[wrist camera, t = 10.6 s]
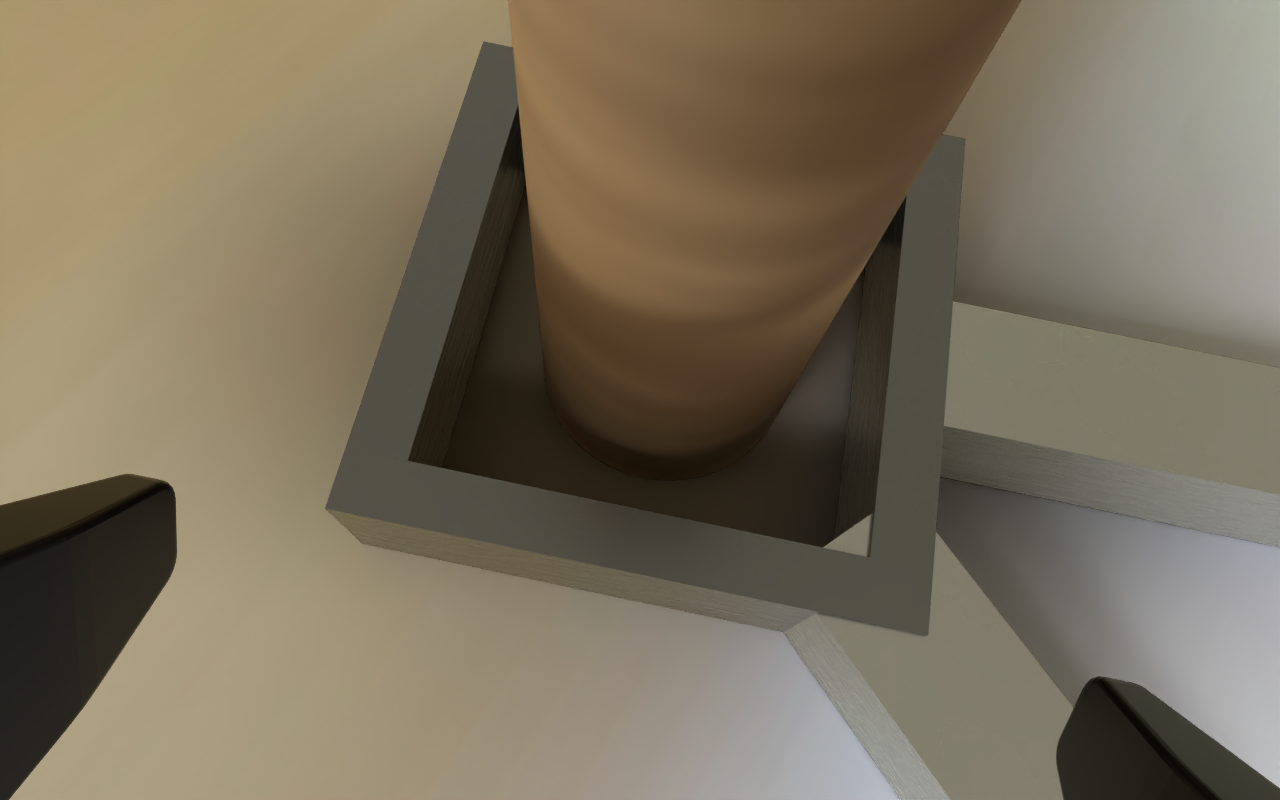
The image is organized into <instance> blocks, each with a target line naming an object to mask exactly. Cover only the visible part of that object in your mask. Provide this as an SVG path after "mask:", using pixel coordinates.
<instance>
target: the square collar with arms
mask: <svg viewBox="0 0 1280 800" xmlns="http://www.w3.org/2000/svg"><path fill="white" fill-rule="evenodd" d="M964 146H965V139H963V138H958V137H953V136H948V135H943V134H942V136H941V138H940V139H939V141H938V143H937V144H936V146H935V148H934V149H933V151H932V153H931V154H930V156H929V158H928V160H927V161H926V163H925V165H924V166H923V168H922V170H921V171H920V173H919V175H918V177H917V178H916V180H915V182H914V183H913V185H912V187H911V188H910V190H909V192H908V194H907V195H906V197H905V199H904V200H903V202H902V204H901V205H900V207H899V209H898V210H897V212H896V214H895V216H894V217H893V219H892V221H891V222H890V224H889V226H888V227H887V229H886V231H885V233H884V234H883V236H882V238H881V239H880V241H879V243H878V244H877V246H876V248H875V250H874V251H873V253H872V255H871V256H870V258H869V260H868V261H867V263H866V270H865V279H864V288H863V296H862V305H861V313H860V322H859V330H858V339H857V347H856V356H855V364H854V373H853V381H852V390H851V399H850V407H849V416H848V424H847V433H846V441H845V450H844V458H843V467H842V475H841V484H840V492H839V501H838V510H837V518H836V527H835V535H834V540H833V541H831V542H830V543H829V544H827V545H826V546H824V547H818V546H813V545H809V544H804V543H799V542H794V541H789V540H785V539H780V538H775V537H770V536H765V535H761V534H756V533H751V532H746V531H741V530H737V529H732V528H727V527H722V526H718V525H713V524H708V523H703V522H698V521H694V520H689V519H684V518H679V517H674V516H670V515H665V514H660V513H655V512H650V511H646V510H641V509H636V508H631V507H627V506H622V505H617V504H612V503H607V502H603V501H598V500H593V499H588V498H583V497H579V496H574V495H569V494H564V493H559V492H555V491H550V490H545V489H540V488H536V487H531V486H526V485H521V484H516V483H512V482H507V481H502V480H497V479H492V478H488V477H483V476H478V475H473V474H468V473H464V472H459V471H454V470H449V469H445V468H442V467H443V463H444V460H445V457H446V453H447V450H448V446H449V443H450V440H451V436H452V433H453V429H454V426H455V423H456V419H457V416H458V412H459V409H460V406H461V402H462V399H463V395H464V392H465V389H466V385H467V382H468V378H469V375H470V371H471V368H472V365H473V361H474V358H475V354H476V351H477V348H478V344H479V341H480V337H481V334H482V331H483V327H484V324H485V320H486V317H487V314H488V310H489V307H490V303H491V300H492V297H493V293H494V290H495V286H496V283H497V280H498V276H499V273H500V269H501V266H502V262H503V259H504V256H505V252H506V249H507V245H508V242H509V239H510V235H511V232H512V228H513V225H514V222H515V218H516V215H517V211H518V208H519V205H520V201H521V198H522V194H523V191H524V188H525V184H526V178H525V168H524V158H523V147H522V137H521V127H520V116H519V106H518V95H517V85H516V75H515V64H514V54H513V47H508V46H503V45H498V44H493V43H488V42H483V45H482V47H481V50H480V53H479V56H478V59H477V62H476V65H475V68H474V71H473V74H472V77H471V80H470V83H469V86H468V89H467V92H466V95H465V98H464V101H463V104H462V106H461V109H460V112H459V115H458V118H457V121H456V124H455V127H454V130H453V133H452V136H451V139H450V142H449V145H448V148H447V151H446V154H445V157H444V160H443V162H442V165H441V168H440V171H439V174H438V177H437V180H436V183H435V186H434V189H433V192H432V195H431V198H430V201H429V204H428V207H427V210H426V213H425V216H424V219H423V221H422V224H421V227H420V230H419V233H418V236H417V239H416V242H415V245H414V248H413V251H412V254H411V257H410V260H409V263H408V266H407V269H406V272H405V275H404V278H403V280H402V283H401V286H400V289H399V292H398V295H397V298H396V301H395V304H394V307H393V310H392V313H391V316H390V319H389V322H388V325H387V328H386V331H385V334H384V336H383V339H382V342H381V345H380V348H379V351H378V354H377V357H376V360H375V363H374V366H373V369H372V372H371V375H370V378H369V381H368V384H367V387H366V390H365V393H364V395H363V398H362V401H361V404H360V407H359V410H358V413H357V416H356V419H355V422H354V425H353V428H352V431H351V434H350V437H349V440H348V443H347V446H346V449H345V452H344V454H343V457H342V460H341V463H340V466H339V469H338V472H337V475H336V478H335V481H334V484H333V487H332V490H331V493H330V496H329V499H328V502H327V505H326V508H325V509H326V510H327V511H328V512H329V513H330V514H332V515H333V516H334V517H335V518H336V519H337V520H338V521H339V522H340V523H341V524H342V525H343V526H344V527H345V528H346V529H348V530H349V531H350V532H351V533H352V534H353V535H354V536H355V537H356V538H357V539H358V540H359V541H360V542H361V543H363V544H368V545H372V546H377V547H382V548H387V549H391V550H396V551H401V552H406V553H410V554H415V555H420V556H425V557H429V558H434V559H439V560H444V561H449V562H453V563H458V564H463V565H468V566H472V567H477V568H482V569H487V570H491V571H496V572H501V573H506V574H510V575H515V576H520V577H525V578H529V579H534V580H539V581H544V582H548V583H553V584H558V585H563V586H567V587H572V588H577V589H582V590H586V591H591V592H596V593H601V594H605V595H610V596H615V597H620V598H625V599H629V600H634V601H639V602H644V603H648V604H653V605H658V606H663V607H667V608H672V609H677V610H682V611H686V612H691V613H696V614H701V615H705V616H710V617H715V618H720V619H724V620H729V621H734V622H739V623H743V624H748V625H753V626H758V627H762V628H767V629H772V630H777V631H782V632H784V633H785V634H786V636H787V637H788V639H789V640H790V642H791V643H792V644H793V646H794V647H795V649H796V650H797V652H798V653H799V654H800V656H801V657H802V659H803V660H804V662H805V663H806V664H807V666H808V667H809V669H810V670H811V672H812V673H813V674H814V676H815V677H816V679H817V680H818V682H819V683H820V684H821V686H822V687H823V689H824V690H825V692H826V693H827V694H828V696H829V697H830V699H831V700H832V702H833V703H834V704H835V706H836V707H837V709H838V710H839V712H840V713H841V714H842V716H843V717H844V719H845V720H846V722H847V723H848V724H849V726H850V727H851V729H852V730H853V732H854V733H855V735H856V736H857V737H858V739H859V740H860V742H861V743H862V745H863V746H864V747H865V749H866V750H867V752H868V753H869V755H870V756H871V757H872V759H873V760H874V762H875V763H876V765H877V766H878V767H879V769H880V770H881V772H882V773H883V775H884V776H885V777H886V779H887V780H888V782H889V783H890V785H891V786H892V787H893V789H894V790H895V792H896V793H897V795H898V796H899V797H900V799H901V800H1063V796H1062V791H1061V786H1060V781H1059V776H1058V772H1057V766H1056V749H1057V745H1058V741H1059V738H1060V736H1061V733H1062V731H1063V729H1064V727H1065V725H1066V723H1067V721H1068V719H1069V717H1070V715H1071V713H1072V711H1073V706H1072V705H1071V704H1070V702H1069V701H1068V700H1067V699H1066V697H1065V696H1064V695H1063V693H1062V692H1061V691H1060V690H1059V688H1058V687H1057V686H1056V684H1055V683H1054V682H1053V681H1052V679H1051V678H1050V677H1049V675H1048V674H1047V673H1046V672H1045V670H1044V669H1043V668H1042V667H1041V665H1040V664H1039V663H1038V661H1037V660H1036V659H1035V658H1034V656H1033V655H1032V654H1031V652H1030V651H1029V650H1028V649H1027V647H1026V646H1025V645H1024V643H1023V642H1022V641H1021V640H1020V638H1019V637H1018V636H1017V635H1016V633H1015V632H1014V631H1013V629H1012V628H1011V627H1010V626H1009V624H1008V623H1007V622H1006V620H1005V619H1004V618H1003V617H1002V615H1001V614H1000V613H999V611H998V610H997V609H996V608H995V606H994V605H993V604H992V603H991V601H990V600H989V599H988V597H987V596H986V595H985V594H984V592H983V591H982V590H981V588H980V587H979V586H978V585H977V583H976V582H975V581H974V579H973V578H972V577H971V576H970V574H969V573H968V572H967V571H966V569H965V568H964V567H963V565H962V564H961V563H960V562H959V560H958V559H957V558H956V556H955V555H954V554H953V553H952V551H951V550H950V549H949V547H948V546H947V545H946V544H945V542H944V541H943V540H942V538H941V537H940V536H939V535H938V533H937V532H936V526H937V512H938V499H939V485H940V477H944V478H949V479H954V480H959V481H963V482H968V483H973V484H978V485H983V486H987V487H992V488H997V489H1002V490H1007V491H1012V492H1016V493H1021V494H1026V495H1031V496H1036V497H1041V498H1045V499H1050V500H1055V501H1060V502H1065V503H1069V504H1074V505H1079V506H1084V507H1089V508H1094V509H1098V510H1103V511H1108V512H1113V513H1118V514H1123V515H1127V516H1132V517H1137V518H1142V519H1147V520H1151V521H1156V522H1161V523H1166V524H1171V525H1176V526H1180V527H1185V528H1190V529H1195V530H1200V531H1205V532H1209V533H1214V534H1219V535H1224V536H1229V537H1234V538H1238V539H1243V540H1248V541H1253V542H1258V543H1262V544H1267V545H1272V546H1277V547H1280V368H1278V367H1273V366H1268V365H1263V364H1258V363H1253V362H1248V361H1244V360H1239V359H1234V358H1229V357H1224V356H1219V355H1214V354H1209V353H1204V352H1200V351H1195V350H1190V349H1185V348H1180V347H1175V346H1170V345H1165V344H1160V343H1156V342H1151V341H1146V340H1141V339H1136V338H1131V337H1126V336H1121V335H1116V334H1112V333H1107V332H1102V331H1097V330H1092V329H1087V328H1082V327H1077V326H1072V325H1068V324H1063V323H1058V322H1053V321H1048V320H1043V319H1038V318H1033V317H1028V316H1024V315H1019V314H1014V313H1009V312H1004V311H999V310H994V309H989V308H984V307H980V306H975V305H970V304H965V303H960V302H955V301H953V295H954V282H955V268H956V255H957V241H958V228H959V214H960V200H961V187H962V173H963V160H964Z"/></svg>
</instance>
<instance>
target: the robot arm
mask: <svg viewBox="0 0 1280 800" xmlns="http://www.w3.org/2000/svg"><path fill="white" fill-rule="evenodd" d="M176 557H177V534H176V498H175V492H174V490H173V487H172V486H171V485H170V484H169V483H168V482H166V481H163V480H158V479H153V478H149V477H144V476H139V475H134V474H123V475H119V476H115V477H111V478H107V479H103V480H99V481H95V482H91V483H87V484H83V485H79V486H75V487H71V488H67V489H63V490H59V491H55V492H51V493H47V494H43V495H39V496H36V497H32V498H28V499H24V500H20V501H16V502H12V503H8V504H4V505H0V800H9V799H10V798H11V796H12V795H13V794H14V793H15V792H16V790H17V789H18V788H19V787H20V785H21V784H22V783H23V782H24V781H25V779H26V778H27V777H28V776H29V774H30V773H31V772H32V771H33V770H34V768H35V767H36V766H37V765H38V764H39V762H40V761H41V760H42V759H43V757H44V756H45V755H46V754H47V753H48V751H49V750H50V749H51V748H52V746H53V745H54V744H55V743H56V742H57V740H58V739H59V738H60V737H61V735H62V734H63V733H64V732H65V731H66V729H67V728H68V727H69V725H70V724H71V723H72V722H73V720H74V719H75V718H76V717H77V715H78V714H79V713H80V711H81V710H82V709H83V707H84V706H85V705H86V703H87V702H88V700H89V699H90V698H91V696H92V695H93V693H94V692H95V690H96V689H97V688H98V686H99V685H100V683H101V682H102V680H103V679H104V677H105V676H106V674H107V673H108V671H109V670H110V668H111V666H112V665H113V663H114V662H115V660H116V659H117V657H118V656H119V654H120V653H121V651H122V650H123V648H124V647H125V645H126V644H127V642H128V641H129V639H130V638H131V636H132V635H133V633H134V632H135V630H136V629H137V627H138V626H139V624H140V623H141V621H142V619H143V618H144V616H145V615H146V613H147V612H148V610H149V609H150V607H151V606H152V604H153V603H154V601H155V600H156V598H157V597H158V595H159V594H160V592H161V591H162V589H163V588H164V586H165V585H166V583H167V582H168V580H169V578H170V576H171V574H172V572H173V569H174V566H175V563H176ZM1056 766H1057V772H1058V776H1059V781H1060V786H1061V791H1062V796H1063V800H1280V788H1279V787H1277V786H1276V785H1275V784H1273V783H1272V782H1271V781H1269V780H1268V779H1266V778H1265V777H1264V776H1262V775H1261V774H1260V773H1258V772H1257V771H1256V770H1254V769H1253V768H1252V767H1250V766H1249V765H1248V764H1246V763H1245V762H1244V761H1242V760H1241V759H1239V758H1238V757H1237V756H1235V755H1234V754H1233V753H1231V752H1230V751H1229V750H1227V749H1226V748H1225V747H1223V746H1222V745H1221V744H1219V743H1218V742H1217V741H1215V740H1214V739H1212V738H1211V737H1210V736H1208V735H1207V734H1206V733H1204V732H1203V731H1202V730H1200V729H1199V728H1198V727H1196V726H1195V725H1194V724H1192V723H1191V722H1190V721H1188V720H1187V719H1185V718H1184V717H1183V716H1181V715H1180V714H1179V713H1177V712H1176V711H1175V710H1173V709H1172V708H1171V707H1169V706H1168V705H1167V704H1165V703H1164V702H1163V701H1161V700H1160V699H1158V698H1157V697H1156V696H1154V695H1153V694H1152V693H1150V692H1149V691H1148V690H1146V689H1145V688H1143V687H1142V686H1140V685H1138V684H1135V683H1131V682H1126V681H1121V680H1117V679H1112V678H1107V677H1101V676H1098V677H1095V678H1092V679H1090V680H1089V681H1088V682H1087V683H1086V685H1085V686H1084V688H1083V690H1082V692H1081V694H1080V696H1079V698H1078V700H1077V702H1076V704H1075V706H1074V708H1073V711H1072V713H1071V715H1070V717H1069V719H1068V721H1067V723H1066V725H1065V727H1064V729H1063V731H1062V733H1061V736H1060V738H1059V741H1058V745H1057V749H1056Z"/></svg>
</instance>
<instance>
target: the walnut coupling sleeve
mask: <svg viewBox="0 0 1280 800" xmlns="http://www.w3.org/2000/svg"><path fill="white" fill-rule="evenodd" d="M508 2H509V13H510V23H511V33H512V44H513V54H514V64H515V75H516V85H517V95H518V106H519V116H520V127H521V137H522V147H523V158H524V168H525V178H526V189H527V199H528V209H529V220H530V230H531V240H532V251H533V261H534V271H535V282H536V292H537V303H538V313H539V323H540V334H541V344H542V354H543V365H544V375H545V383H546V387H547V391H548V396H549V398H550V401H551V403H552V406H553V409H554V411H555V413H556V414H557V416H558V418H559V420H560V422H561V423H562V425H563V426H564V427H565V429H566V430H567V431H568V433H569V434H570V435H571V437H572V438H573V439H574V440H575V441H576V442H577V443H578V444H579V445H580V446H581V447H582V448H583V449H585V450H586V451H587V452H589V453H590V454H591V455H592V456H594V457H595V458H597V459H598V460H600V461H602V462H603V463H605V464H607V465H608V466H610V467H613V468H615V469H617V470H620V471H622V472H624V473H628V474H631V475H635V476H638V477H642V478H649V479H655V480H682V479H691V478H695V477H699V476H704V475H707V474H710V473H713V472H715V471H718V470H721V469H723V468H725V467H726V466H728V465H730V464H732V463H734V462H736V461H737V460H738V459H740V458H741V457H742V456H744V455H745V454H747V453H748V452H749V451H750V450H751V449H752V448H753V447H754V446H755V445H756V444H757V443H758V442H759V441H760V440H761V439H762V437H763V436H764V435H765V433H766V432H767V431H768V429H769V428H770V426H771V424H772V423H773V421H774V419H775V418H776V416H777V414H778V412H779V411H780V409H781V407H782V406H783V404H784V402H785V401H786V399H787V397H788V395H789V394H790V392H791V390H792V389H793V387H794V385H795V384H796V382H797V380H798V378H799V377H800V375H801V373H802V372H803V370H804V368H805V367H806V365H807V363H808V362H809V360H810V358H811V356H812V355H813V353H814V351H815V350H816V348H817V346H818V345H819V343H820V341H821V339H822V338H823V336H824V334H825V333H826V331H827V329H828V328H829V326H830V324H831V322H832V321H833V319H834V317H835V316H836V314H837V312H838V311H839V309H840V307H841V306H842V304H843V302H844V300H845V299H846V297H847V295H848V294H849V292H850V290H851V289H852V287H853V285H854V283H855V282H856V280H857V278H858V277H859V275H860V273H861V272H862V270H863V268H864V266H865V265H866V263H867V261H868V260H869V258H870V256H871V255H872V253H873V251H874V250H875V248H876V246H877V244H878V243H879V241H880V239H881V238H882V236H883V234H884V233H885V231H886V229H887V227H888V226H889V224H890V222H891V221H892V219H893V217H894V216H895V214H896V212H897V210H898V209H899V207H900V205H901V204H902V202H903V200H904V199H905V197H906V195H907V194H908V192H909V190H910V188H911V187H912V185H913V183H914V182H915V180H916V178H917V177H918V175H919V173H920V171H921V170H922V168H923V166H924V165H925V163H926V161H927V160H928V158H929V156H930V154H931V153H932V151H933V149H934V148H935V146H936V144H937V143H938V141H939V139H940V138H941V136H942V134H943V132H944V131H945V129H946V127H947V126H948V124H949V122H950V121H951V119H952V117H953V115H954V114H955V112H956V110H957V109H958V107H959V105H960V104H961V102H962V100H963V98H964V97H965V95H966V93H967V92H968V90H969V88H970V87H971V85H972V83H973V82H974V80H975V78H976V76H977V75H978V73H979V71H980V70H981V68H982V66H983V65H984V63H985V61H986V59H987V58H988V56H989V54H990V53H991V51H992V49H993V48H994V46H995V44H996V42H997V41H998V39H999V37H1000V36H1001V34H1002V32H1003V31H1004V29H1005V27H1006V26H1007V24H1008V22H1009V20H1010V19H1011V17H1012V15H1013V14H1014V12H1015V10H1016V9H1017V7H1018V5H1019V3H1020V2H1021V0H508Z"/></svg>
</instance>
